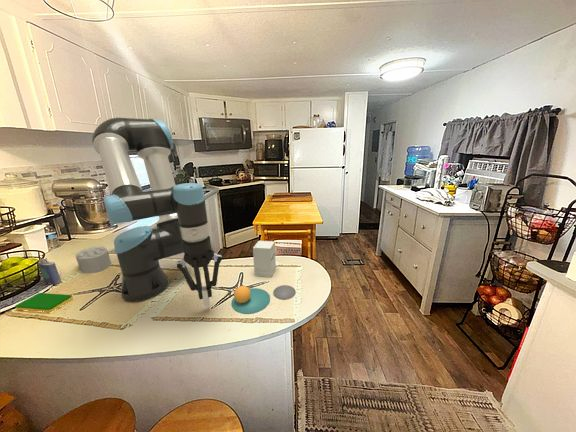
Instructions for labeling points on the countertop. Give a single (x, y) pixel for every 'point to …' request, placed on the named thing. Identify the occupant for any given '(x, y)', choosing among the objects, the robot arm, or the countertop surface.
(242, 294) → the ball
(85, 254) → the lumpy-topped squat cylinder
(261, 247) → the supplement box
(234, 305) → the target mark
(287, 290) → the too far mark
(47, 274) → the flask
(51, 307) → the dish sponge
